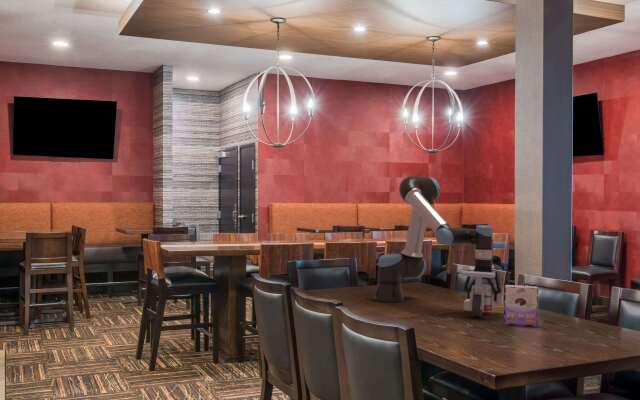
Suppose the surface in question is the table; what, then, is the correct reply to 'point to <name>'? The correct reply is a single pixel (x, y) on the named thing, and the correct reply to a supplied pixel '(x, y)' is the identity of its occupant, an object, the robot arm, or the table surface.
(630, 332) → the table surface
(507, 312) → the candy box
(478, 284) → the white pedestal stand
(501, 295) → the stop pin
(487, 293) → the ink box
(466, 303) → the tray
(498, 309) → the pin socket
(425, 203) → the robot arm
